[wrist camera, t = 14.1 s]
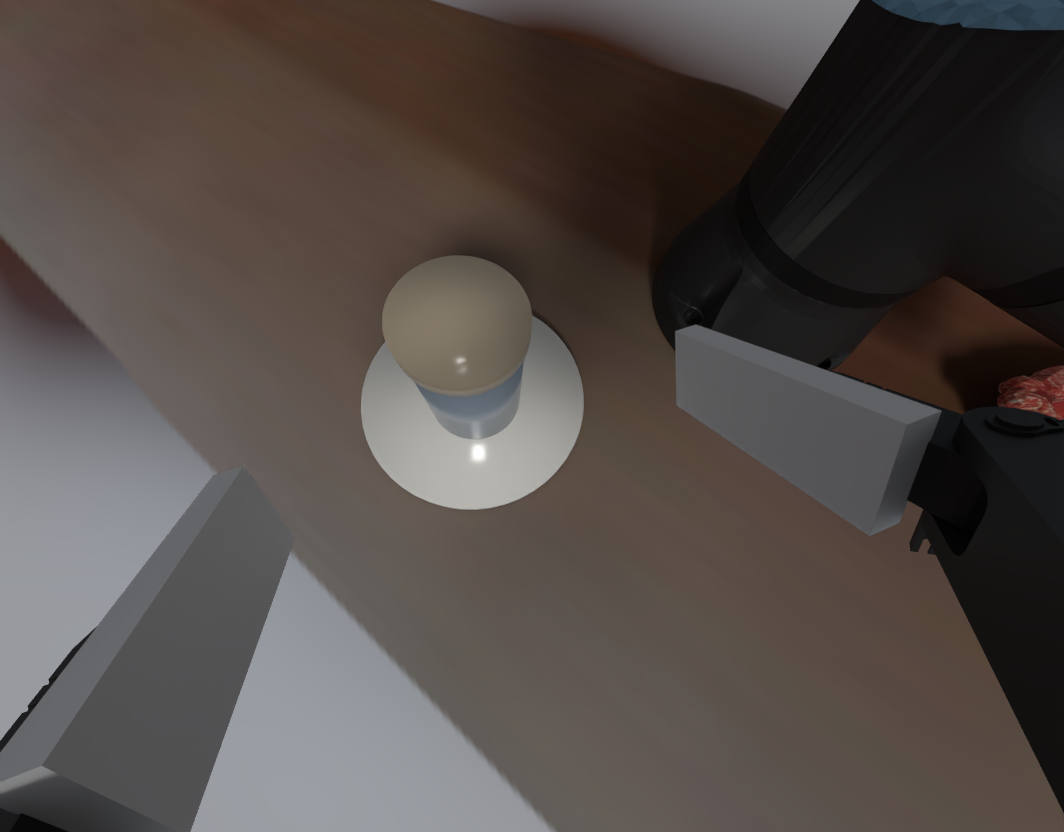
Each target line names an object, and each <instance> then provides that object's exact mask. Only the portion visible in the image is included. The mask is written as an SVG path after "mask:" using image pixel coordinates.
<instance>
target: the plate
mask: <svg viewBox="0 0 1064 832" xmlns="http://www.w3.org/2000/svg"><path fill="white" fill-rule="evenodd" d="M583 409H584V395H583V387H582V381H581V377H580V374H579V371H578V368H577V365H576V363H575V361H574V359H573V357H572V355H571V353H570V352H569V350H568V348H567V347H566V345H565V344H564V343H563V341H562V340H561V339H560V338H559V337H558V335H557V334H556V333H555V332H554V331H552V330H551V329H550V328H549V327H548V326H547V325H546V324H544V323H543V322H542V321H540V320H539V319H538V318H536V317H534V316H532V330H531V338H530V344H529V349H528V351H527V354H526V357H525V359H524V363H523V373H522V382H521V392H520V402H519V407H518V410H517V413H516V415H515V417H514V418H513V420H512V421H511V423H510V424H509V425H508V426H507V427H506V428H505V429H503V430H502V431H501V432H499V433H498V434H495V435H493V436H491V437H488V438H484V439H465V438H461V437H458V436H456V435H454V434H452V433H450V432H449V431H447V430H446V429H445V428H444V427H442V426H441V424H440V423H439V422H438V420H437V419H436V417H435V416H434V414H433V412H432V411H431V409H430V407H429V406H428V404H427V402H426V401H425V399H424V397H423V396H422V394H421V392H420V391H419V389H418V387H417V386H416V384H415V382H414V381H413V380H411V379H410V378H409V377H408V376H407V375H406V374H405V373H404V372H403V370H402V369H401V368H400V366H399V365H398V363H397V361H396V360H395V358H394V357H393V355H392V354H391V352H390V350H389V348H388V346H387V344H386V342H385V343H384V344H383V345H382V346H381V348H380V349H379V351H378V352H377V354H376V356H375V357H374V359H373V361H372V363H371V365H370V367H369V369H368V372H367V375H366V378H365V381H364V385H363V391H362V397H361V416H362V424H363V429H364V432H365V436H366V439H367V442H368V444H369V447H370V449H371V451H372V453H373V455H374V457H375V458H376V460H377V461H378V463H379V464H380V466H381V467H382V468H383V469H384V471H385V472H386V473H387V474H388V475H389V476H390V477H391V478H392V479H393V480H394V481H395V482H396V483H398V484H399V485H400V486H401V487H402V488H404V489H406V490H407V491H409V492H410V493H412V494H413V495H415V496H417V497H419V498H422V499H424V500H426V501H428V502H431V503H433V504H437V505H440V506H444V507H447V508H454V509H460V510H481V509H490V508H495V507H499V506H503V505H507V504H509V503H512V502H514V501H517V500H519V499H521V498H523V497H525V496H527V495H529V494H530V493H532V492H534V491H535V490H536V489H538V488H539V487H540V486H542V485H543V484H544V483H546V482H547V481H548V480H549V479H550V478H551V477H552V476H553V475H554V474H555V473H556V472H557V470H558V469H559V468H560V466H561V465H562V464H563V463H564V461H565V460H566V459H567V457H568V455H569V453H570V452H571V450H572V448H573V446H574V444H575V442H576V439H577V437H578V434H579V431H580V427H581V423H582V418H583Z"/></svg>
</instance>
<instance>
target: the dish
mask: <svg viewBox="0 0 1064 832" xmlns="http://www.w3.org/2000/svg"><path fill="white" fill-rule="evenodd" d="M998 390H999V392H1000V393H1001V395H999V396H998V398H997V405H998V406H999V407H1009V408H1019V409H1024V410H1029V411H1034V412H1039V413H1042V414H1045V415H1048V416H1052V417H1055V418H1057V419H1059V420H1062V419H1064V366H1054V367H1050V368H1046V369H1043V370H1040V371H1037V372H1036V373H1034V374H1033V375H1032V376H1030V377H1028V376H1024V375H1023V376H1017V377H1014V378H1011V379H1009V380H1007V381H1005V382H1003V383H1001V384H1000V385H999V387H998Z"/></svg>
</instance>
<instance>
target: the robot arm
mask: <svg viewBox="0 0 1064 832" xmlns="http://www.w3.org/2000/svg"><path fill="white" fill-rule="evenodd" d="M943 276H947V277H950V278H952V279H954V280H956V281H958V282H959V283H961V284H962V285H964V286H966V287H968V288H969V289H971V290H972V291H974V292H976V293H977V294H979V295H981V296H982V297H984V298H985V299H987V300H989V301H990V302H991V303H993V304H994V305H995V306H997V307H999V308H1000V309H1002V310H1003V311H1005V312H1007V313H1008V314H1010V315H1011V316H1013V317H1015V318H1016V319H1018V320H1020V321H1021V322H1023V323H1024V324H1026V325H1028V326H1029V327H1031V328H1032V329H1034V330H1036V331H1037V332H1039V333H1041V334H1042V335H1044V336H1045V337H1047V338H1049V339H1050V340H1052V341H1053V342H1055V343H1057V344H1058V345H1060V346H1062V347H1063V348H1064V0H860V1H859V3H858V4H857V6H856V7H855V9H854V10H853V12H852V13H851V15H850V16H849V18H848V19H847V21H846V23H845V24H844V25H843V27H842V28H841V30H840V31H839V33H838V35H837V36H836V38H835V39H834V41H833V42H832V44H831V45H830V47H829V48H828V50H827V51H826V53H825V54H824V56H823V57H822V59H821V60H820V62H819V63H818V65H817V67H816V68H815V70H814V71H813V73H812V74H811V76H810V77H809V79H808V80H807V82H806V83H805V85H804V86H803V88H802V89H801V91H800V92H799V94H798V95H797V97H796V98H795V100H794V101H793V103H792V104H791V106H790V107H789V109H788V110H787V112H786V113H785V115H784V116H783V118H782V119H781V121H780V122H779V123H778V125H777V126H776V128H775V129H774V131H773V132H772V134H771V135H770V137H769V138H768V140H767V141H766V143H765V144H764V146H763V147H762V149H761V150H760V152H759V153H758V155H757V157H756V158H755V160H754V161H753V163H752V164H751V166H750V167H749V169H748V170H747V172H746V173H745V175H744V176H743V178H742V179H741V181H740V182H739V183H738V184H737V185H736V186H735V187H733V188H732V189H731V190H730V191H729V192H727V193H726V194H725V195H724V196H723V197H721V198H720V199H719V200H718V201H717V202H715V203H714V204H713V205H712V206H710V207H709V208H708V209H707V210H706V211H704V212H703V213H702V214H701V215H700V216H698V217H697V218H696V219H695V220H694V221H692V222H691V223H690V224H689V225H688V226H686V227H685V228H684V229H683V230H682V231H681V233H680V234H679V235H678V236H677V237H676V238H675V240H674V241H673V243H672V244H671V246H670V248H669V249H668V251H667V253H666V255H665V256H664V258H663V260H662V262H661V263H660V265H659V268H658V270H657V273H656V276H655V280H654V286H653V302H654V308H655V313H656V317H657V320H658V322H659V325H660V327H661V329H662V331H663V333H664V335H665V337H666V339H667V340H668V342H669V343H670V345H671V346H672V347H673V349H674V350H675V351H676V405H677V406H678V407H680V408H681V409H683V410H684V411H686V412H687V413H689V414H690V415H692V416H693V417H695V418H696V419H697V420H699V421H700V422H702V423H703V424H705V425H706V426H708V427H709V428H711V429H712V430H714V431H715V432H717V433H718V434H720V435H721V436H723V437H724V438H726V439H727V440H729V441H730V442H731V443H733V444H734V445H736V446H737V447H739V448H740V449H742V450H743V451H745V452H746V453H748V454H749V455H751V456H752V457H754V458H755V459H757V460H758V461H760V462H761V463H762V464H764V465H765V466H767V467H768V468H770V469H771V470H773V471H774V472H776V473H777V474H779V475H780V476H782V477H783V478H785V479H786V480H788V481H789V482H791V483H792V484H794V485H795V486H796V487H798V488H799V489H801V490H802V491H804V492H805V493H807V494H808V495H810V496H811V497H813V498H814V499H816V500H817V501H819V502H820V503H822V504H823V505H825V506H826V507H828V508H829V509H830V510H832V511H833V512H835V513H836V514H838V515H839V516H841V517H842V518H844V519H845V520H847V521H848V522H850V523H851V524H853V525H854V526H856V527H857V528H859V529H860V530H861V531H863V532H864V533H866V534H867V535H869V536H871V535H873V534H876V533H878V532H880V531H882V530H885V529H887V528H889V527H892V526H894V525H896V524H898V523H899V522H900V520H901V517H902V514H903V512H904V509H905V507H906V504H907V501H910V502H912V503H914V504H915V505H917V506H919V507H921V508H923V512H922V514H921V517H920V519H919V521H918V524H917V526H916V529H915V531H914V533H913V536H912V538H911V541H910V551H913V552H918V550H919V548H920V546H921V543H922V541H923V539H928V540H929V542H930V544H931V546H930V548H929V550H928V554H933V555H936V556H937V558H938V560H939V562H940V564H941V566H942V568H943V570H944V572H945V574H946V576H947V578H948V580H949V582H950V584H951V586H952V588H953V590H954V592H955V594H956V597H957V599H958V601H959V603H960V605H961V607H962V609H963V611H964V613H965V615H966V617H967V619H968V621H969V623H970V625H971V627H972V629H973V631H974V633H975V635H976V637H977V639H978V641H979V643H980V645H981V647H982V649H983V651H984V653H985V655H986V657H987V659H988V661H989V663H990V665H991V667H992V669H993V671H994V673H995V675H996V677H997V679H998V681H999V683H1000V685H1001V687H1002V689H1003V691H1004V693H1005V695H1006V697H1007V699H1008V701H1009V703H1010V705H1011V707H1012V709H1013V711H1014V714H1015V716H1016V718H1017V720H1018V722H1019V724H1020V726H1021V728H1022V730H1023V732H1024V734H1025V736H1026V738H1027V740H1028V742H1029V744H1030V746H1031V748H1032V750H1033V752H1034V754H1035V756H1036V758H1037V760H1038V762H1039V764H1040V766H1041V768H1042V770H1043V772H1044V774H1045V776H1046V778H1047V780H1048V782H1049V784H1050V786H1051V788H1052V790H1053V792H1054V794H1055V796H1056V798H1057V800H1058V802H1059V804H1060V806H1061V808H1062V810H1063V812H1064V419H1062V420H1059V419H1057V418H1055V417H1052V416H1048V415H1045V414H1042V413H1039V412H1034V411H1029V410H1024V409H1019V408H1009V407H998V406H996V407H979V408H976V409H972V410H969V411H967V412H966V413H965V414H964V415H962V414H959V413H956V412H953V411H950V410H947V409H944V408H941V407H938V406H936V405H933V404H930V403H927V402H924V401H921V400H918V399H915V398H912V397H909V396H907V395H904V394H901V393H898V392H895V391H892V390H889V389H885V390H883V389H882V387H880V386H878V385H875V384H872V383H869V382H867V383H864V382H863V380H860V379H857V378H854V377H852V376H849V375H846V374H843V373H839V372H833V371H832V370H833V369H835V368H836V367H837V366H839V365H840V364H841V363H842V362H843V361H844V360H845V359H846V358H847V357H848V356H849V355H850V354H851V353H852V352H853V351H854V349H855V348H856V347H857V346H858V345H859V344H860V343H861V342H862V340H863V339H864V338H865V337H866V336H867V335H868V334H869V333H870V331H871V330H872V329H873V328H874V327H875V326H876V325H877V324H878V322H879V321H880V320H881V319H882V318H883V317H884V316H885V315H886V313H887V312H888V311H889V310H890V309H891V308H892V307H893V306H894V304H896V303H897V302H899V301H900V300H902V299H904V298H905V297H907V296H909V295H910V294H912V293H914V292H915V291H917V290H919V289H920V288H922V287H924V286H925V285H928V284H930V283H931V282H933V281H935V280H937V279H939V278H941V277H943ZM294 539H295V536H294V534H293V533H292V532H291V530H290V529H289V528H288V526H287V525H286V523H285V522H284V521H283V519H282V518H281V517H280V515H279V514H278V512H277V511H276V510H275V508H274V507H273V506H272V504H271V503H270V501H269V500H268V499H267V497H266V496H265V495H264V493H263V492H262V490H261V489H260V488H259V486H258V485H257V484H256V482H255V481H254V479H253V478H252V477H251V475H250V474H249V473H248V471H247V470H246V468H245V467H244V466H242V467H239V468H235V469H232V470H229V471H226V472H223V473H219V474H216V475H213V476H212V478H211V479H210V480H209V482H208V483H207V484H206V486H205V487H204V488H203V490H202V491H201V492H200V493H199V495H198V496H197V497H196V499H195V500H194V501H193V503H192V504H191V505H190V506H189V508H188V509H187V510H186V512H185V513H184V514H183V516H182V517H181V518H180V519H179V521H178V522H177V523H176V525H175V526H174V527H173V529H172V530H171V531H170V533H169V534H168V535H167V536H166V538H165V539H164V540H163V541H162V543H161V544H160V545H159V547H158V548H157V549H156V551H155V552H154V553H153V554H152V556H151V557H150V558H149V560H148V561H147V562H146V564H145V565H144V566H143V567H142V569H141V570H140V571H139V573H138V574H137V575H136V577H135V578H134V579H133V581H132V582H131V583H130V584H129V586H128V587H127V588H126V590H125V591H124V592H123V594H122V595H121V596H120V597H119V599H118V600H117V601H116V603H115V604H114V605H113V607H112V608H111V609H110V610H109V612H108V613H107V614H106V616H105V617H104V618H103V620H102V621H101V622H100V623H99V625H98V626H97V627H96V628H95V629H94V630H93V631H91V633H89V634H88V635H87V636H86V637H85V638H84V639H83V640H82V641H81V642H80V643H79V644H78V645H76V646H75V647H74V648H73V649H72V651H71V652H70V653H69V654H68V655H67V657H66V658H65V659H64V661H63V662H62V663H61V664H60V666H59V667H58V668H57V669H56V671H55V672H54V673H53V674H52V676H51V677H50V678H49V684H48V685H45V686H43V687H42V689H41V690H40V691H39V693H38V694H37V695H36V696H35V697H34V699H33V700H32V701H31V702H30V704H29V705H28V711H27V712H24V713H22V714H21V715H20V716H19V718H18V719H17V720H16V722H15V723H14V724H13V725H12V727H11V728H10V729H9V730H8V732H7V733H6V734H5V736H4V737H3V738H2V740H1V741H0V832H190V831H191V828H192V825H193V823H194V820H195V817H196V814H197V811H198V809H199V806H200V803H201V800H202V797H203V795H204V791H205V789H206V786H207V783H208V781H209V777H210V775H211V772H212V769H213V766H214V763H215V761H216V758H217V755H218V752H219V750H220V747H221V744H222V741H223V738H224V735H225V733H226V730H227V727H228V724H229V722H230V719H231V716H232V713H233V710H234V708H235V705H236V702H237V699H238V696H239V694H240V690H241V688H242V685H243V682H244V680H245V677H246V674H247V671H248V668H249V666H250V663H251V660H252V657H253V654H254V651H255V649H256V646H257V643H258V640H259V638H260V635H261V631H262V629H263V626H264V623H265V621H266V618H267V615H268V612H269V609H270V607H271V604H272V601H273V598H274V595H275V593H276V590H277V587H278V584H279V581H280V578H281V575H282V573H283V570H284V567H285V565H286V562H287V559H288V556H289V553H290V551H291V548H292V545H293V542H294Z"/></svg>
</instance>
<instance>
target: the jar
mask: <svg viewBox="0 0 1064 832" xmlns="http://www.w3.org/2000/svg"><path fill="white" fill-rule="evenodd" d="M382 329H383V335H384V338H385V342H386V344H387V346H388V348H389V350H390V352H391V354H392V355H393V357H394V358H395V360H396V361H397V363H398V365H399V366H400V368H401V369H402V370H403V372H404V373H405V374H406V375H407V376H408V377H409V378H410V379H411V380H413V381H414V382H415V384H416V386H417V387H418V389H419V391H420V392H421V394H422V396H423V397H424V399H425V401H426V402H427V404H428V406H429V407H430V409H431V411H432V412H433V414H434V416H435V417H436V419H437V420H438V422H439V423H440V424H441V426H442V427H444V428H445V429H446V430H447V431H449V432H450V433H452V434H454V435H456V436H458V437H461V438H465V439H484V438H488V437H491V436H493V435H495V434H498V433H499V432H501V431H502V430H503V429H505V428H506V427H507V426H508V425H509V424H510V423H511V421H512V420H513V418H514V417H515V415H516V413H517V410H518V407H519V402H520V392H521V382H522V373H523V363H524V359H525V357H526V354H527V351H528V349H529V344H530V338H531V330H532V310H531V306H530V302H529V299H528V297H527V294H526V293H525V291H524V289H523V287H522V286H521V285H520V283H519V282H518V281H517V280H516V279H515V278H514V277H513V276H512V275H511V274H510V273H509V272H507V271H506V270H505V269H503V268H502V267H500V266H498V265H497V264H495V263H492V262H490V261H488V260H485V259H481V258H477V257H472V256H463V255H452V256H444V257H439V258H435V259H432V260H429V261H426V262H424V263H422V264H420V265H418V266H416V267H415V268H413V269H412V270H410V271H409V272H407V273H406V274H405V275H404V276H403V277H402V278H401V279H400V280H399V281H398V282H397V283H396V284H395V286H394V287H393V289H392V290H391V292H390V293H389V295H388V297H387V300H386V302H385V305H384V309H383V314H382Z"/></svg>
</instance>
